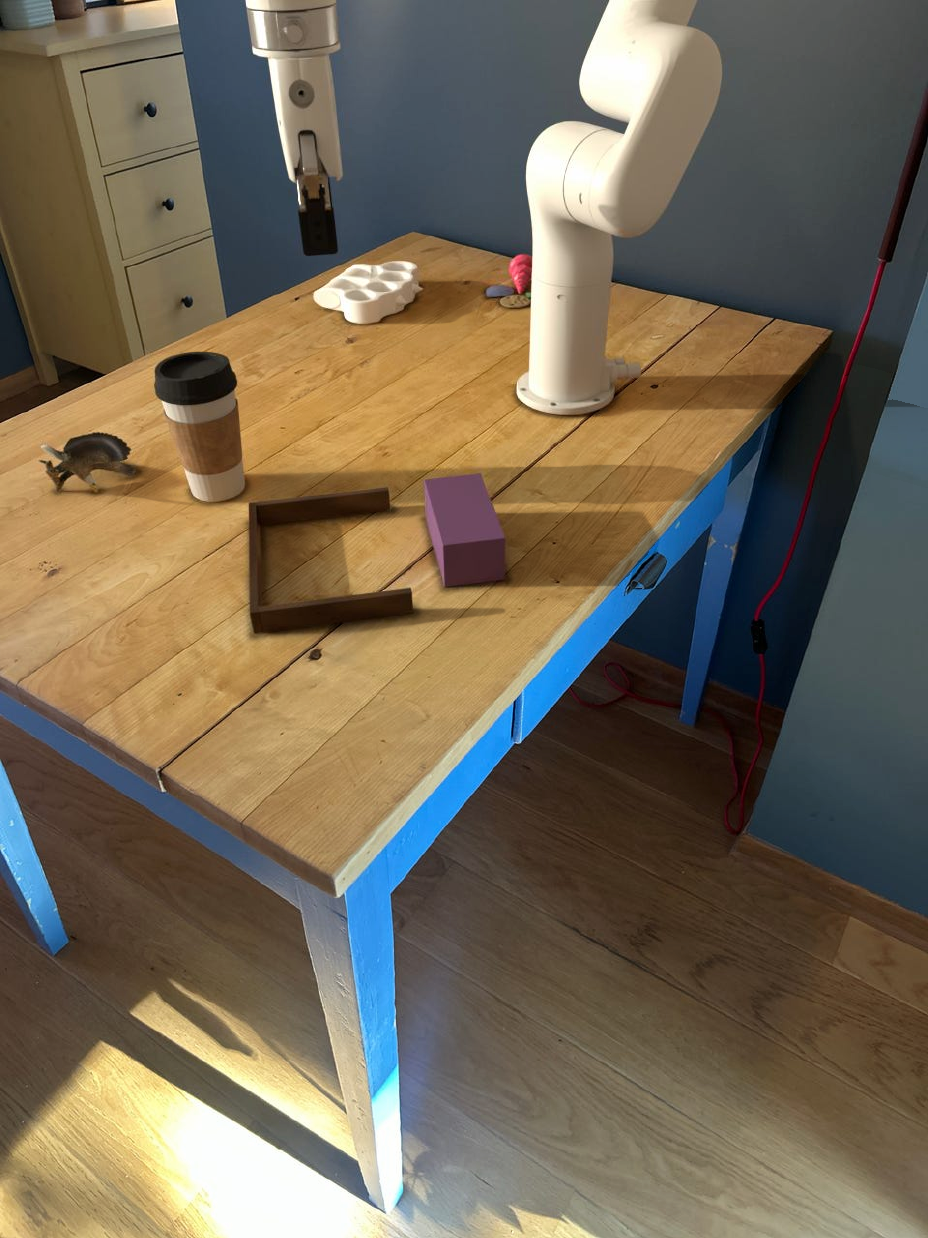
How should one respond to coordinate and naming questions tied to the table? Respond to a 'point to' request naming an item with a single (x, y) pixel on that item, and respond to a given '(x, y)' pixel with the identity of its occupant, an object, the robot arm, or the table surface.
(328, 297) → the white paint palette
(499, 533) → the plum block
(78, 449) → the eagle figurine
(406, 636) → the table surface
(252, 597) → the walnut bay
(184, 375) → the coffee cup
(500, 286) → the toy pieces
